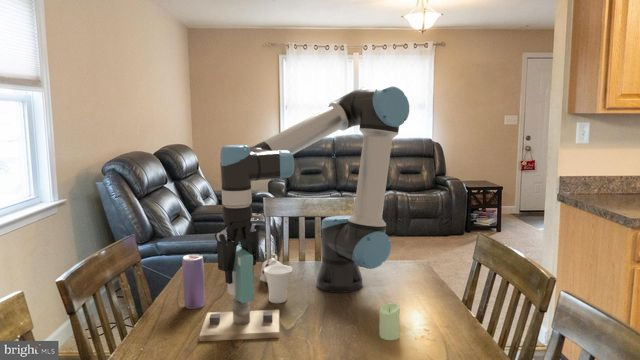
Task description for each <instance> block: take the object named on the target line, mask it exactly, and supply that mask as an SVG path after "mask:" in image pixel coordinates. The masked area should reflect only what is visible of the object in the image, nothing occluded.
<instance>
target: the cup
mask: <svg viewBox="0 0 640 360" xmlns="http://www.w3.org/2000/svg"><path fill="white" fill-rule="evenodd" d="M293 271H294V269H293V267H292V266H289V265H286V264H283V265H271V266H268V267H266V268H264V273H265V275H266V278H267V282H266V284H267V288H268V301H269V302H270V303H272V304H282V303H286V301H287V299H288V295H287V294H288V285H289V283H290V279H291V276H292V273H293Z"/></svg>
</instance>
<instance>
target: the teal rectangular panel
mask: <svg viewBox="0 0 640 360" xmlns="http://www.w3.org/2000/svg"><path fill="white" fill-rule="evenodd" d="M233 270H234V271H236V285H237V295H236V296H234V299H235V300H236V301H239V302H241V303H246V302H249V303H251V302H255V298H254V295H255V294H254V265H253V256H252V255H251V254H250V253H248V252H247V251H246V250H244V249H243V248H242V247H241V245H239V244H238V246H237V249H236V254H235V262H234V269H233Z"/></svg>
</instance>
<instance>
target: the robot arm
mask: <svg viewBox="0 0 640 360" xmlns="http://www.w3.org/2000/svg"><path fill="white" fill-rule="evenodd" d="M409 103H410V102H409V99H408V97H407V96H406V94H405V93H404V91H403V90H402V89H400V88H399V87H396V86H395V85H380V86H379V85H378V86H369V87H359V88H357V89H354V90H352V91H351V92H349V93H346V94H344V95H343V96H341V97H339V98H337V99H336V100H333V101H332V102H330V103H329V104H328V107H327V108H325V109H323V110H321V111H320V112H317V113H315V114H314V115H312V116H310V117H308V118H305V119H303V120H302V121H300V122H298V123H297V124H294V125H292V126H290V127H288V128H286V129H284V130H283V131H282V130H281V132H279V133H277V134H275V135H273V136H271V137H268V138H266V139H265V140H263V141H261V142H259V143H257V144H255V145H252V146H249V144H247V145H246V144H228V145H223V146H222V147H221V148H220V153H219V157H220V158H219V166H220V167H219V168H220V180H221V205H223V206H222V208H221V209H222V219H223V222H224V226H223V228H222V230H221V231H220V232H215V233H214V238H215V240H216V249H217V252H216V253H217V269H218V270H220V271H221V272H224V276H225V281H224V282H225V283H226V284H227V294H228V295H231V296H232V297H235V296H236V295H237V285H236V271H234V270H233V269H234V262H235V254H236V249H237V246H238V245H239V243H240V247H242V248H243V249H244V250H246V251H247V252H248V253H250V254H251V255H252V256H253V266H256V265H257V262H258V261H259V260H260V245H259V244H260V239H259V233H260V229H261V225H260V224H257V223H254V222H252V221H251V220H252V219H253V207H252V205H251V204H252V203H253V201H252V199H253V197H252V182H257V181H265V180H277V179H279V180H282V179H286V178H290V177H292V176H293V174H294V172H295V158H294V154H296V153H298V152H300V151H302V150H304V149H305V148H306V149H307V147H310V146H311V145H314V144H315V143H316V142H319V141H320V140H322V139H324V138H326V137H328V136H330V135H332V134H334V133H335V132H337V131H339V130H340V131H346V130H348V129H350V128H353V127H357V126H359V131H360V133H361V134H362V135H363V138H362V139H363V140H362V146H361V147H362V149H361V155H360V162H359V169H358V170H359V171H358V178H357V184H356V185H357V186H356V191H355V193H356V195H355V201H354V209H353V213H352V215H347V214H345V215H333V216H328V217H327V216H326V217H325V218H323V219H322V221H321V228H320V231H321V262H320V263H321V264H320V267H319V269H318V272H317V276H316V286H317V288H318V289H321V290H322V291H326V292H331V293H350V292H355V291H357V290H359V289H361V288H362V287H363V276H362V274H361V270H360V268H365V269H369V270H372V269H377V268H379V267H380V266H382V264H383V263H385V262H386V261H387V259H388V258H389V256H390V254H391V250H392V242H391V239H390V237H389V236H388V234H387V233H386V228H387V223H386V222H385V220H384V219H383V215H384V214H383V211H384V205H385V198H386V189H387V183H388V182H387V181H388V173H389V167H390V159H391V151H392V144H393V139H394V138H395V137H396V136H398V135H399V130H400V126H402V125H403V124H404V123H405V122H406V121H407V120H408V117H409V116H410V115H409V114H410V104H409Z"/></svg>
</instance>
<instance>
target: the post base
mask: <svg viewBox="0 0 640 360" xmlns="http://www.w3.org/2000/svg"><path fill="white" fill-rule="evenodd" d="M204 318H205V319H204V321H203V323H202V327H201V329H200V332H199V336H198V338H199V342H208V341H209V342H211V341H213V342H214V341H228V340H229V341H232V340H255V339H256V340H257V339H274V338H275V339H276V338H277V339H278V338H280V309H264V310H261V309H260V310H251V308H250V302H246V303H241V302H239V301H236V300H235V298H234V299H232V311H216V312H215V311H214V312H210V311H209V312H207V313H206V315H205V317H204Z"/></svg>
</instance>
